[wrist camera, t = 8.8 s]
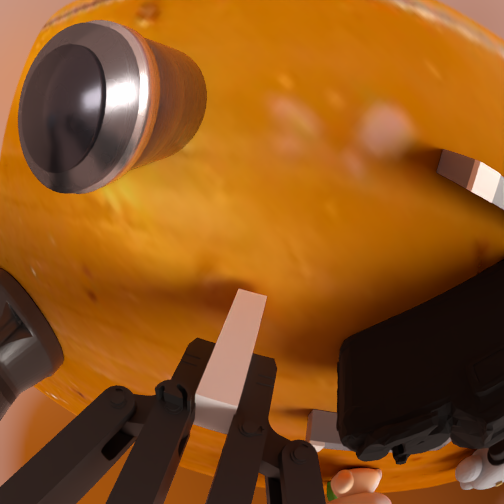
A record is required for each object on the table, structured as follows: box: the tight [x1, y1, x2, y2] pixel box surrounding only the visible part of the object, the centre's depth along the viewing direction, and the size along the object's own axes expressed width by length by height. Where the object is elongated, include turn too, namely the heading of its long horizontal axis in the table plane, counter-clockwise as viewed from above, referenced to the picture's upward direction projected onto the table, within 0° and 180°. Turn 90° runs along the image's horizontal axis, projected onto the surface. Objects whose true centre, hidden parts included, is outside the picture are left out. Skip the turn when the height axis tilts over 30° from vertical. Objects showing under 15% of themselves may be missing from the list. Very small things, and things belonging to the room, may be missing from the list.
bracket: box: [306, 149, 504, 452], centre depth 13 cm, size 14×21×3 cm, turn 169°
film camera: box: [336, 260, 504, 465], centre depth 10 cm, size 15×10×9 cm, turn 123°
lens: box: [18, 20, 207, 194], centre depth 9 cm, size 6×6×6 cm
